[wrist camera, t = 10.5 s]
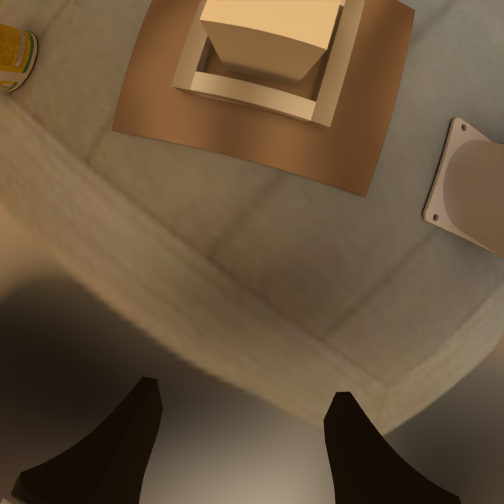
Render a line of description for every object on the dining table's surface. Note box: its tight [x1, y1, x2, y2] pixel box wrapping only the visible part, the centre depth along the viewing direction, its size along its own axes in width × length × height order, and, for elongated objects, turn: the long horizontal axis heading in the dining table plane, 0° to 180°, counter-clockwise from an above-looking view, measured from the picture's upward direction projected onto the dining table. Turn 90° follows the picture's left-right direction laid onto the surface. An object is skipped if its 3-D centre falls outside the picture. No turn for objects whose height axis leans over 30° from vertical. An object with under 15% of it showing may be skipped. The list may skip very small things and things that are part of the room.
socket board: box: [112, 0, 415, 197], centre depth 13 cm, size 16×14×4 cm
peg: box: [200, 0, 341, 87], centre depth 10 cm, size 4×4×8 cm
